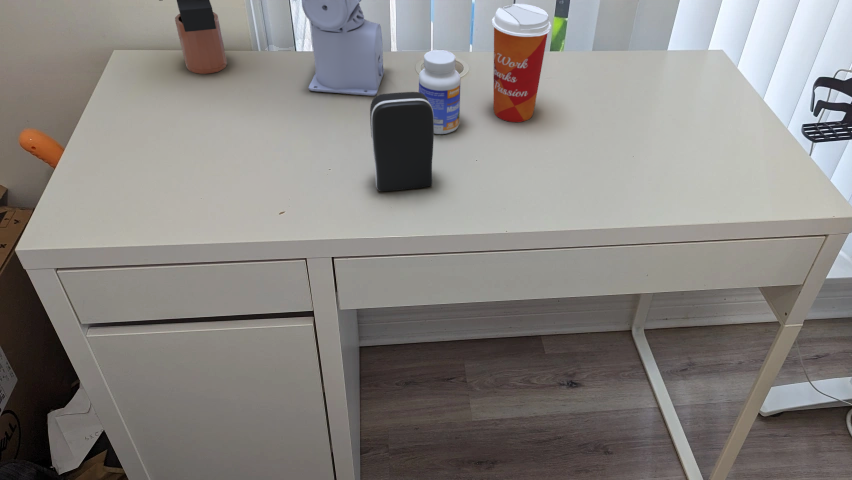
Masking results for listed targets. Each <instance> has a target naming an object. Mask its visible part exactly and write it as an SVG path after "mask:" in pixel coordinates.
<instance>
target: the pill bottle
mask: <svg viewBox="0 0 852 480" xmlns="http://www.w3.org/2000/svg"><path fill="white" fill-rule="evenodd" d="M456 62H457V61H456V55H455V54H454V53H453V52H451V51H449V50H444V49H433V50H429V51H426V53H424V55H423V69H421V71H420V72H419V74H418V92H420V93H422V94H424V95H425V96H426V98H427V99H428V101H429V103H430V104H431V106H432V109H433V114H434V135H435V134H436V135H444V134H450V133H452V132H454V131H456V130H457V129H458V128H459V125H460V112H461V110H460V109H461V75H460V72H458V71H457V69H456V66H457V63H456Z"/></svg>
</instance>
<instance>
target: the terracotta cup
mask: <svg viewBox="0 0 852 480" xmlns="http://www.w3.org/2000/svg"><path fill="white" fill-rule="evenodd" d="M213 15H214V20H215V25H216V29H210V30H200V31H190V32H185V30H184V26H183V23H182V19H181V15H180V13H178V14H177V15H176V16H174V21H175V27H176V31H177V35H178V39H179V42H180V47H181V51H182V54H183V60H184V64H185V67H186V69H187V70H188V71H189V72H192V73H194V74H200V75H205V74H207V75H209V74H214V73H218V72H220V71H223V70H224V69H225V68H226V67H227V66H228V61H227V56H226V51H225V46H224V41H223V35H222V30H221V25H220V20H219V15H218V14H217V13H216V12H214V11H213Z"/></svg>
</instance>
